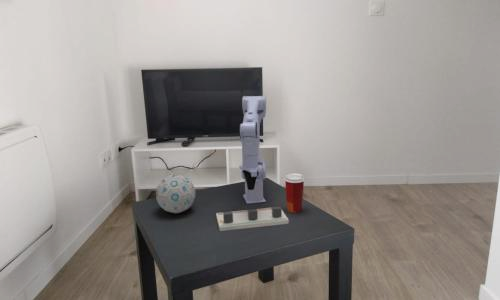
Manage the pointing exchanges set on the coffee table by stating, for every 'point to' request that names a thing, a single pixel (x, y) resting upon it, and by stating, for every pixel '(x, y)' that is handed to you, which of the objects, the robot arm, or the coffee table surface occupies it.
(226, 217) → the block
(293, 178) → the paper cup
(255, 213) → the breaker
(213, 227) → the coffee table surface
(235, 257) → the coffee table surface
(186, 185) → the puzzle ball
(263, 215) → the breaker panel
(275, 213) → the block
